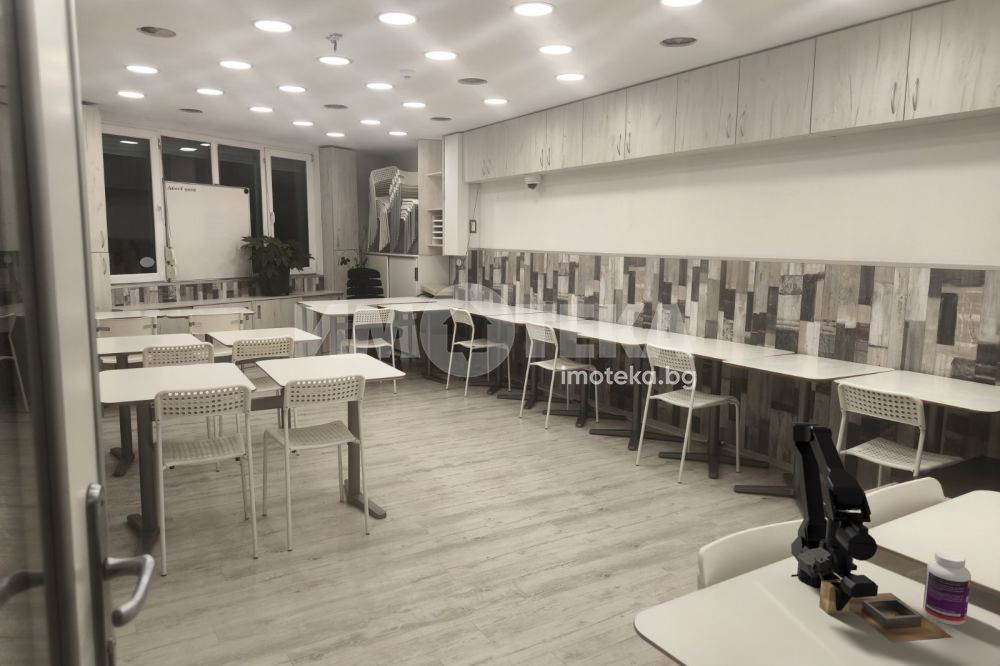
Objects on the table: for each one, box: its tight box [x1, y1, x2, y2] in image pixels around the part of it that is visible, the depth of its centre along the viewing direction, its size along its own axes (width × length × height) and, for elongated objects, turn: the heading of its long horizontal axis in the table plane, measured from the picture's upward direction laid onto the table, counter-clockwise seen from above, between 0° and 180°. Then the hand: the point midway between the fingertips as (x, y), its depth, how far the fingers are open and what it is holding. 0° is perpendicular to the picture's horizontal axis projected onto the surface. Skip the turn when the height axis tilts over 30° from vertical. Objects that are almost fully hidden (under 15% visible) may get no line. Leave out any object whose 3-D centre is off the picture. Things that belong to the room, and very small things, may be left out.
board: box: [849, 592, 953, 643], centre depth 150 cm, size 18×14×1 cm
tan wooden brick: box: [818, 579, 850, 615], centre depth 151 cm, size 3×5×7 cm, turn 99°
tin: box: [861, 597, 922, 630], centre depth 148 cm, size 7×8×2 cm
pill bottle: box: [922, 549, 972, 626], centre depth 150 cm, size 8×8×14 cm
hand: (833, 606), depth 152 cm, fingers closed on tan wooden brick, 3 cm apart
